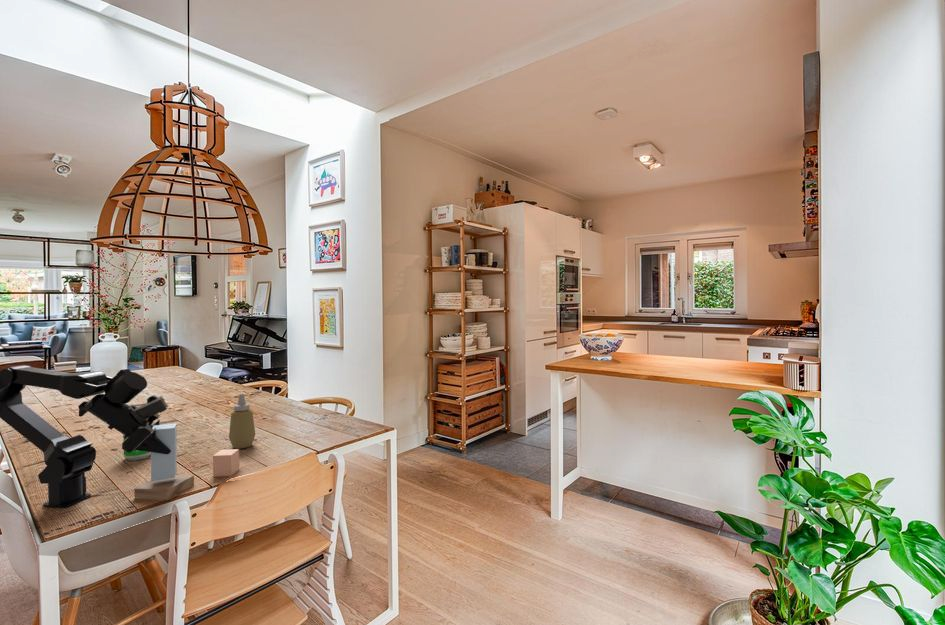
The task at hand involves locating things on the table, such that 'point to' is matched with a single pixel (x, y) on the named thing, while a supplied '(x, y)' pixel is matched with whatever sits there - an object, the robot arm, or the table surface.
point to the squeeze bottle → (241, 425)
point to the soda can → (136, 454)
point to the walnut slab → (164, 488)
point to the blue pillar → (165, 463)
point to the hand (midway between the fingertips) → (170, 449)
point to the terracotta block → (226, 462)
